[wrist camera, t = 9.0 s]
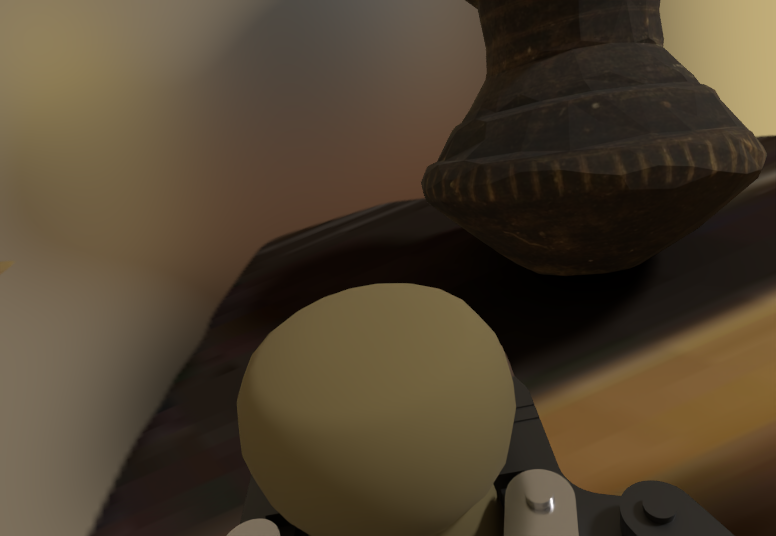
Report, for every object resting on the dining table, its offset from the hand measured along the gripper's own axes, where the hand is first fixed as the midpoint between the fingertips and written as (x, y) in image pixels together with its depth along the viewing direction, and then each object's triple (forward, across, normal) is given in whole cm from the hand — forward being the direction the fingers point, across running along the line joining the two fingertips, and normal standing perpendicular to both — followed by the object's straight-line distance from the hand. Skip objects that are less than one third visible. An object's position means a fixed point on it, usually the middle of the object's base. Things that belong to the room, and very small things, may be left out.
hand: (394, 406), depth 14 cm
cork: (-3, 0, +7) cm, 7 cm away
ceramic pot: (+31, -15, +16) cm, 37 cm away
